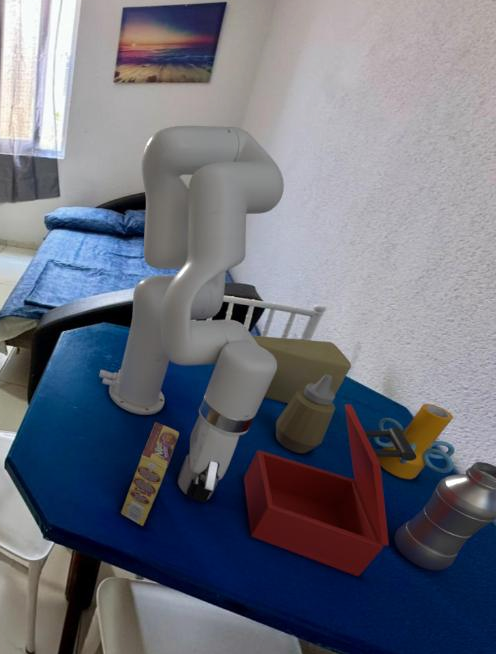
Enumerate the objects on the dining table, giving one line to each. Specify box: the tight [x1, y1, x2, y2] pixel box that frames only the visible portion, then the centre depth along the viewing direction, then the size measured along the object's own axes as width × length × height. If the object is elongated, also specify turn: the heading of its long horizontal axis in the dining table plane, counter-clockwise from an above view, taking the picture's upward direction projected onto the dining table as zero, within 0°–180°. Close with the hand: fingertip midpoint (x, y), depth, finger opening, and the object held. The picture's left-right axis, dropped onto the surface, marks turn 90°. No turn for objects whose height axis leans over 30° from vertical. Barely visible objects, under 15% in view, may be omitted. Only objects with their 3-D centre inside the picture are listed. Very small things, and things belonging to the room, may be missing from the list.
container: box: [177, 453, 220, 500], centre depth 75 cm, size 6×6×6 cm
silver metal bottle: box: [393, 461, 496, 571], centre depth 61 cm, size 6×7×20 cm
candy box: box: [120, 421, 180, 527], centre depth 69 cm, size 9×4×15 cm, turn 145°
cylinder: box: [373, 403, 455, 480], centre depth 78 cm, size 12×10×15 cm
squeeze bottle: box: [275, 374, 336, 454], centre depth 82 cm, size 8×8×18 cm
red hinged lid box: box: [243, 449, 384, 577], centre depth 69 cm, size 15×13×8 cm
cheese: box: [251, 334, 352, 405], centre depth 97 cm, size 22×10×15 cm, turn 75°
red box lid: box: [344, 404, 416, 547], centre depth 61 cm, size 15×13×5 cm
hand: (195, 483), depth 76 cm, fingers closed on container, 5 cm apart
